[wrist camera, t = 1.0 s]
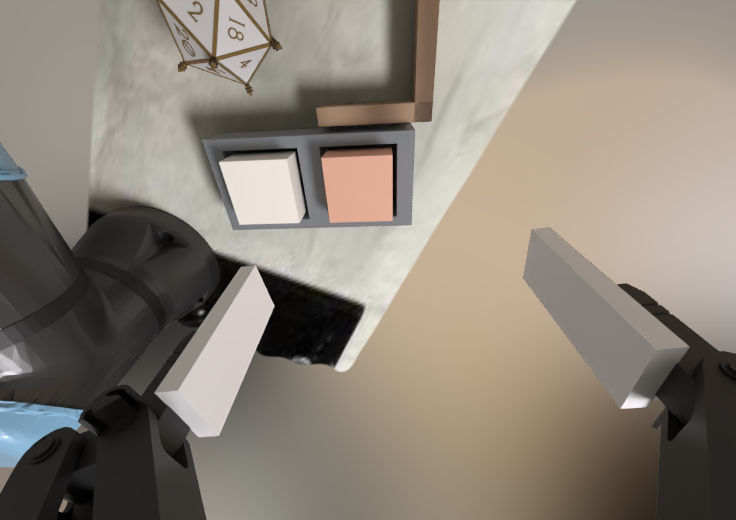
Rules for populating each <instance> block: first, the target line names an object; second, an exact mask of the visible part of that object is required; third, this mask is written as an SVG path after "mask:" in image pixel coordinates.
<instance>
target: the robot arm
mask: <svg viewBox="0 0 736 520" xmlns="http://www.w3.org/2000/svg"><path fill="white" fill-rule="evenodd" d="M26 177H27V174H26V172H25V171H24V170H23V169H22V168H20V167H18V166H17V165H16V164H15V162H14V161H13V160H12V158H11V157H10V156H9V154H8V153H7V151H6V150H5V149H4V147H3V146H2V145H1V143H0V467H15V468H14V470H13V472H12V474H11V475H10V477H9V479H8V481H7V482H6V484H5V486H4V488H3V490H2V491H1V493H0V520H206V516H205V512H204V507H203V503H202V498H201V494H200V489H199V485H198V480H197V476H196V472H195V467H194V462H193V458H192V454H191V450H190V445H189V443H188V441H187V440H186V439H185V438H186V436H187V434H188V432H189V430H190V429H191V430H192V431H193V432H194V433H195V434H196V435H197V436H198V437H208V436H219V434H220V432H221V429H222V427H223V425H224V423H225V420H226V418H227V415H228V413H229V411H230V408H231V406H232V404H233V402H234V399H235V397H236V395H237V392H238V390H239V388H240V385H241V383H242V381H243V378H244V376H245V374H246V371H247V369H248V367H249V364H250V362H251V360H252V357H253V355H254V353H255V350H256V348H257V346H258V343H259V341H260V339H261V336H262V334H263V332H264V329H265V327H266V325H267V322H268V320H269V318H270V315H271V313H272V310H273V308H274V304H273V302H272V300H271V298H270V296H269V294H268V291H267V289H266V287H265V285H264V283H263V280H262V278H261V276H260V274H259V272H258V270H257V267H256V265H254V266H246V267H241V268H240V269H239V271H238V272H237V274H236V275H235V277H234V278H233V279H232V281H231V282H230V284H229V285H228V287H227V288H226V290H225V291H224V292H223V294H222V295H221V297H220V298H219V300H218V301H217V303H216V304H215V306H214V307H213V308H212V310H211V311H210V313H209V314H208V316H207V317H206V319H205V320H204V321H203V323H202V324H201V326H200V327H199V329H198V330H197V331H192V332H191V333H190V334H189V335H188V336H186V337H185V338H184V339H183V340H182V341H181V342H180V343H179V345H178V346H177V347H176V349H175V350H174V352H173V355H171V356H170V357H169V359H168V360H167V361H166V364H164V365H163V367H162V368H161V370H160V371H159V372H158V374H157V375H156V377H155V378H154V379H153V381H152V382H151V384H150V385H149V386H148V388H147V389H146V390H145V392H144V393H143V394H142V396H140V395H138V393H136V392H135V391H134V390H133V389H132V388H131V387H130V386H127V385H120V386H116V385H117V384H118V383H119V382H120V381H121V379H122V378H123V377H124V376H125V375H126V373H127V372H128V371H129V370H130V369H131V367H132V366H133V365H134V364H135V363H136V361H137V360H138V359H139V358H140V356H141V355H142V354H143V353H144V352H145V351H146V349H147V348H148V347H149V346H150V345H151V343H152V342H153V341H154V340H155V338H156V337H157V336H158V335H159V334H160V333H161V332H162V330H163V329H164V328H165V327H166V326H168V325H169V324H171V323H173V322H174V321H176V320H178V319H179V318H181V317H183V316H184V315H186V314H188V313H189V312H191V311H192V310H194V309H196V308H197V307H199V306H200V305H202V304H203V303H204V302H205V301H206V300H207V299H208V298H209V297H210V295H211V294H212V293H213V291H214V290H215V289H216V287H217V285H218V282H219V277H220V270H219V265H218V262H217V259H216V257H215V255H214V253H213V251H212V249H211V248H210V246H209V245H208V244H207V242H206V241H205V240H204V239H203V238H202V237H201V236H200V235H199V234H198V233H197V232H196V231H195V230H194V229H192V228H191V227H190V226H188V225H187V224H186V223H184V222H183V221H181V220H179V219H177V218H176V217H174V216H172V215H169V214H167V213H165V212H162V211H159V210H156V209H152V208H147V207H125V208H120V209H118V210H115V211H113V212H111V213H109V214H107V215H105V216H103V217H101V218H100V219H98V220H97V221H96V222H94V223H93V224H92V225H91V226H90V227H89V229H88V230H87V232H86V233H85V234H84V235H83V236H82V237H81V239H80V240H79V241H78V242H77V244H76V245H75V246H74V247H73V249H72V250H71V249H70V248H69V246H68V245H67V244H66V242H65V240H64V239H63V237H62V236H61V234H60V233H59V231H58V230H57V228H56V227H55V225H54V224H53V222H52V221H51V219H50V218H49V216H48V215H47V213H46V212H45V210H44V208H43V207H42V205H41V204H40V202H39V201H38V199H37V197H36V196H35V194H34V193H33V191H32V190H31V188H30V186H29V185H28V183H27V182H26V180H25V178H26ZM523 279H524V280H525V281H526V283H527V284H528V285H529V287H530V288H531V289H532V291H533V292H534V293H535V295H536V296H537V297H538V299H539V300H540V301H541V303H542V304H543V305H544V307H545V308H546V309H547V310H548V312H549V313H550V315H551V316H552V317H553V319H554V320H555V321H556V322H557V324H558V325H559V327H560V328H561V330H562V331H563V332H564V333H565V335H566V336H567V338H568V339H569V340H570V341H571V343H572V344H573V346H574V347H575V348H576V350H577V351H578V352H579V354H580V355H581V356H582V358H583V359H584V360H585V362H586V363H587V364H588V366H589V367H590V368H591V370H592V371H593V372H594V374H595V375H596V376H597V378H598V379H599V381H600V382H601V383H602V384H603V386H604V387H605V389H606V390H607V391H608V393H609V394H610V395H611V397H612V398H613V399H614V401H615V402H616V403H617V405H618V406H619V407H620V409H623V408H640V407H648V406H649V404H650V403H651V402H652V400H653V399H654V397H655V396H657V397H658V398H659V399H660V400H661V401H662V403H663V404H664V405H665V406H666V407H665V408H664V409H663V411H662V412H661V413H660V415H659V416H658V417H657V419H656V420H655V421H654V423H653V425H652V427H653V428H655V429H657V428H658V427H659V426H660V424H661V439H660V456H659V473H658V490H657V507H656V520H736V354H734V353H729V352H725V351H718V350H717V349H715V348H714V347H713V346H712V345H710V344H709V343H708V342H707V341H705V340H704V339H703V338H702V337H700V336H699V335H698V334H696V333H695V332H694V331H693V330H692V329H690V328H689V327H688V326H686V325H685V324H684V323H683V322H681V321H680V320H679V319H678V318H676V317H675V316H674V315H672V314H671V315H670V313H669V311H668V310H666V309H665V308H664V307H663V306H661V305H658V302H656V301H655V300H654V299H652V298H651V297H650V296H649V295H647V294H646V293H645V292H643V291H641V290H639V289H637V288H635V287H633V286H631V285H629V284H616V283H614V282H613V281H612V280H611V279H610V278H608V277H607V276H606V275H605V274H604V273H603V272H601V271H600V270H599V269H598V268H597V267H596V266H594V265H593V264H592V263H591V262H590V261H589V260H587V259H586V258H585V257H584V256H583V255H582V254H580V253H579V252H578V251H577V250H576V249H574V248H573V247H572V246H571V245H570V244H569V243H567V242H566V241H565V240H564V239H563V238H562V237H560V236H559V235H558V234H557V233H556V232H555V231H553V230H552V229H551V228H550V227H547V228H539V229H532V230H531V236H530V242H529V247H528V253H527V259H526V264H525V270H524V275H523ZM80 425H83V426H84V427H86V428H87V429H88V430H89V431H86V432H83V433H81V434H80V433H78V432H77V431H76V429H77V428H78V427H79V426H80ZM63 499H65V500H67V501H68V503H67V506H66V508H65V510H64V511H63V512H59V508H60V505H61V503H62V500H63Z"/></svg>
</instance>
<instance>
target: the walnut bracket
mask: <svg viewBox="0 0 736 520" xmlns="http://www.w3.org/2000/svg"><path fill="white" fill-rule="evenodd" d="M439 1H440V0H415V9H414V41H413V73H412V100H406V101H387V102H368V103H350V104H331V105H321V106H319V107H317V108H316V111H317V119H318V126H319V127H326V126H347V125H367V124H388V123H408V122H428V121H431V120H432V105H433V90H434V76H435V61H436V46H437V31H438V16H439Z"/></svg>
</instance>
